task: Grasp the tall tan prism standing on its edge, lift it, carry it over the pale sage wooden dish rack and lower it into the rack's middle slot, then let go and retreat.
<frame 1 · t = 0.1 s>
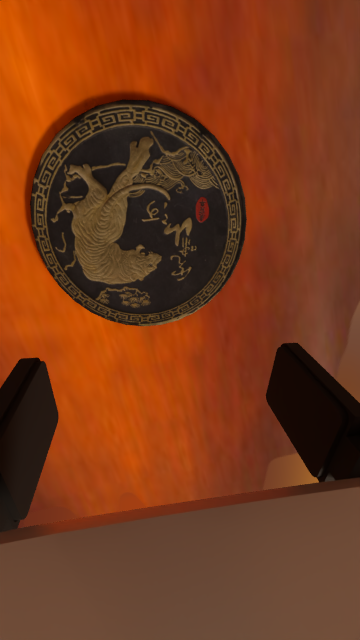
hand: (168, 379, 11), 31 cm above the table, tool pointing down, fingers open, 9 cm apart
decorative plate: (144, 232, 38), on the table
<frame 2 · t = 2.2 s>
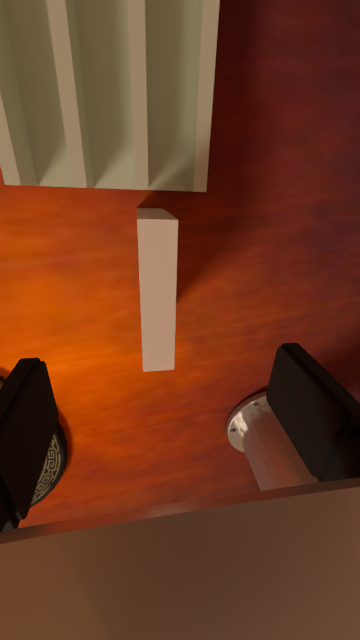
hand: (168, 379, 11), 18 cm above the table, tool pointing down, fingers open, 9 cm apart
dish rack: (108, 85, 20), on the table
tall tan prism: (151, 266, 26), on the table
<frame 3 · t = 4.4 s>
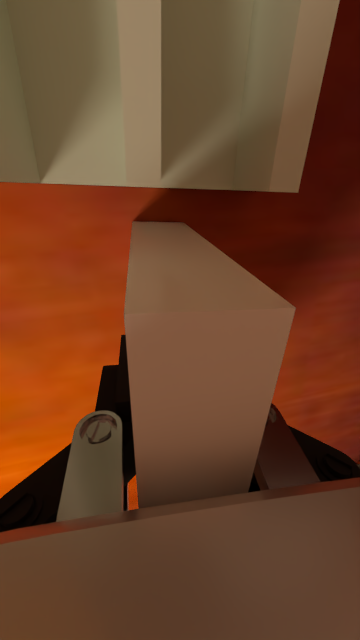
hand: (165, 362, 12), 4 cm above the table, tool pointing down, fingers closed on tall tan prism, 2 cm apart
tall tan prism: (158, 323, 15), on the table, touching gripper
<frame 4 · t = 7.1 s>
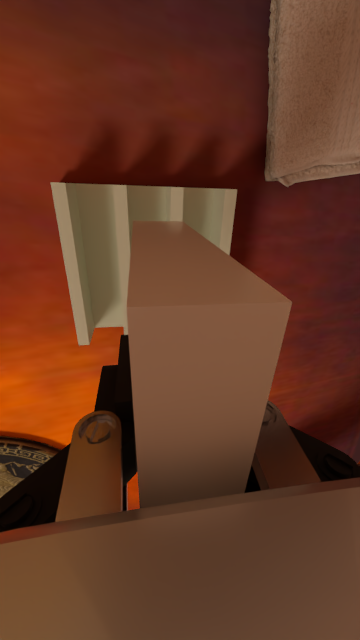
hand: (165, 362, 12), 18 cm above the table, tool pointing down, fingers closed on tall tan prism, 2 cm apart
dish rack: (148, 261, 27), on the table
tall tan prism: (158, 322, 15), point 14 cm above the table, touching gripper
decorative plate: (3, 497, 41), on the table
washcloth: (326, 63, 22), on the table
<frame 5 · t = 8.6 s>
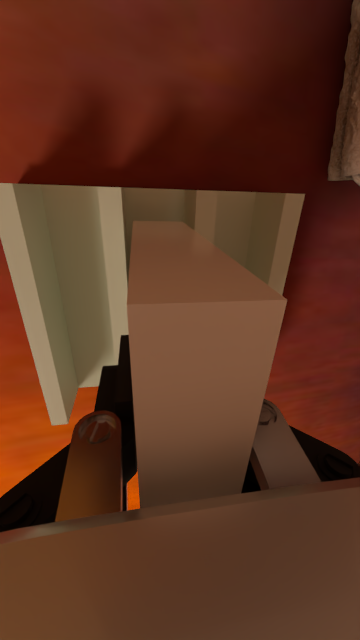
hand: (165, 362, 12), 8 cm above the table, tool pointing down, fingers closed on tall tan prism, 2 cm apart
dish rack: (155, 296, 19), on the table
tall tan prism: (158, 321, 15), point 4 cm above the table, touching gripper
when the fingers open (6 cm above the table, at t = 9.7 s): tall tan prism stays where it is, resting on dish rack.
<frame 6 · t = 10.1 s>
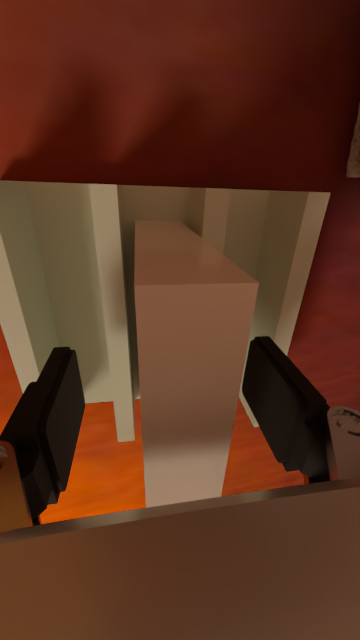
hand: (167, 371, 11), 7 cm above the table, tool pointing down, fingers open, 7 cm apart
dish rack: (156, 306, 17), on the table
tall tan prism: (158, 314, 16), point 1 cm above the table, touching dish rack
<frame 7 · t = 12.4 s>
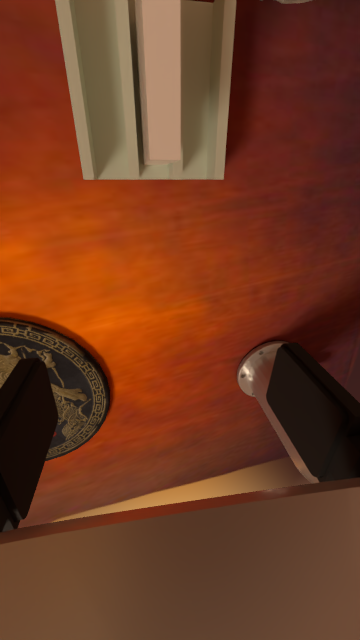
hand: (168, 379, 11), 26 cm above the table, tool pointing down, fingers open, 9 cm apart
dish rack: (149, 102, 27), on the table
tall tan prism: (151, 101, 26), point 1 cm above the table, touching dish rack
decorative plate: (15, 396, 42), on the table
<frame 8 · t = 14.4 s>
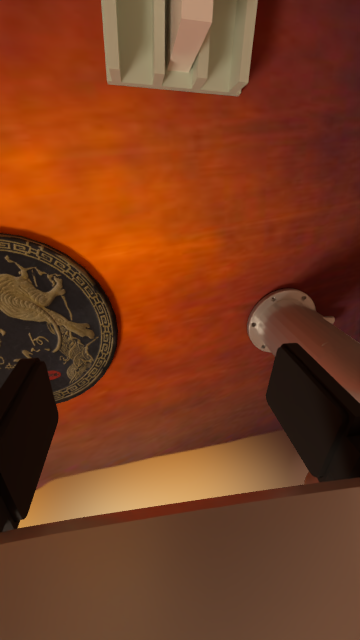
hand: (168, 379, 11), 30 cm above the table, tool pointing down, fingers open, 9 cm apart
dish rack: (177, 3, 27), on the table
decorative plate: (21, 329, 41), on the table
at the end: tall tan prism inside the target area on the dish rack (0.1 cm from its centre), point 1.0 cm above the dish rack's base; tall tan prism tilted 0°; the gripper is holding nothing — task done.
